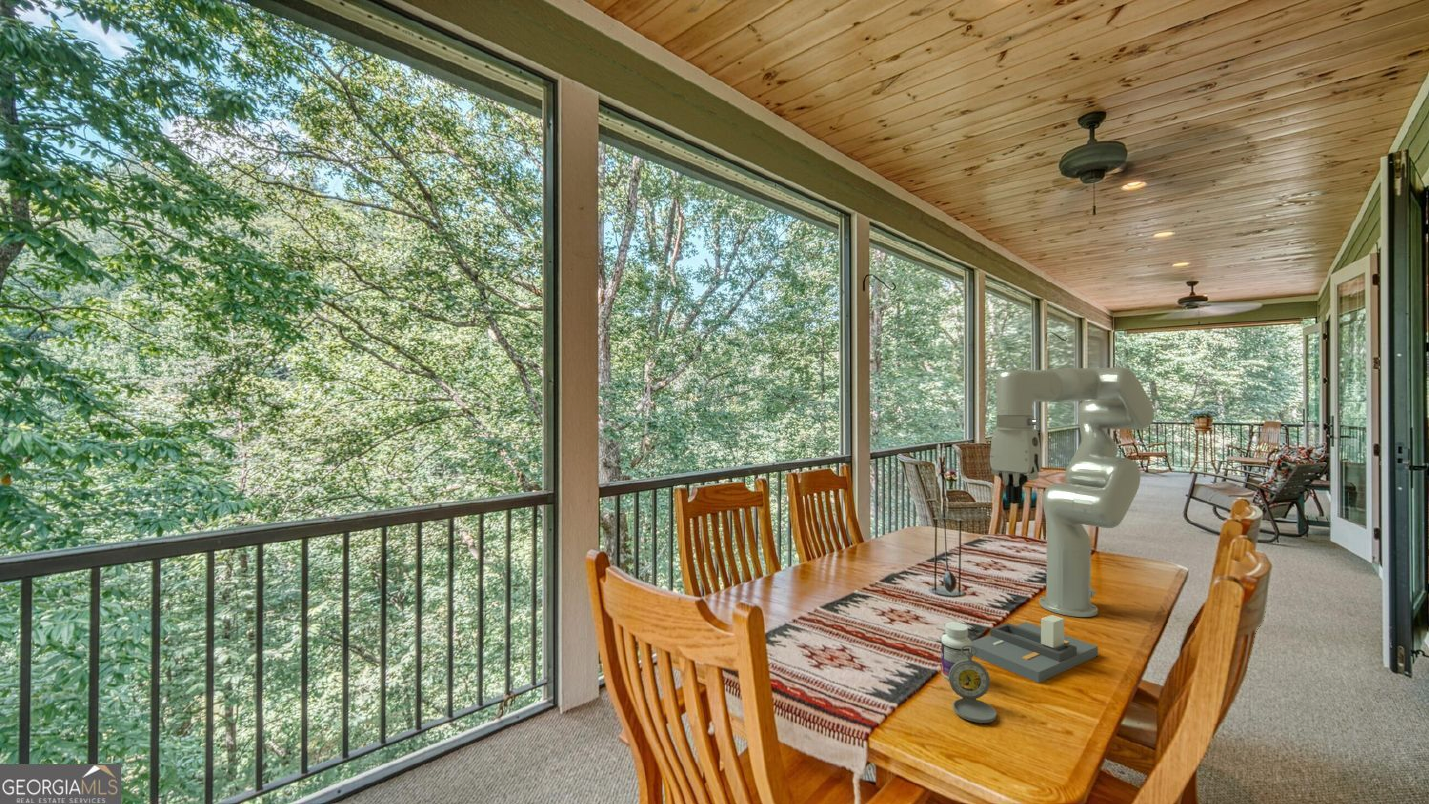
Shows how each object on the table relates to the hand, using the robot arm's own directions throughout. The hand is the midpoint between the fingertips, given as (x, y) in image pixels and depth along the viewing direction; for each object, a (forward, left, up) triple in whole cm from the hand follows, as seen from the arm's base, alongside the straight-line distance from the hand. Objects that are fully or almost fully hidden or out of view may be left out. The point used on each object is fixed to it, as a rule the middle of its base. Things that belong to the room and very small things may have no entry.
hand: (1013, 502), depth 133 cm
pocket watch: (+40, +17, -29) cm, 52 cm away
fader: (+10, +14, -27) cm, 32 cm away
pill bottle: (+32, +8, -29) cm, 44 cm away
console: (+10, +10, -29) cm, 32 cm away
